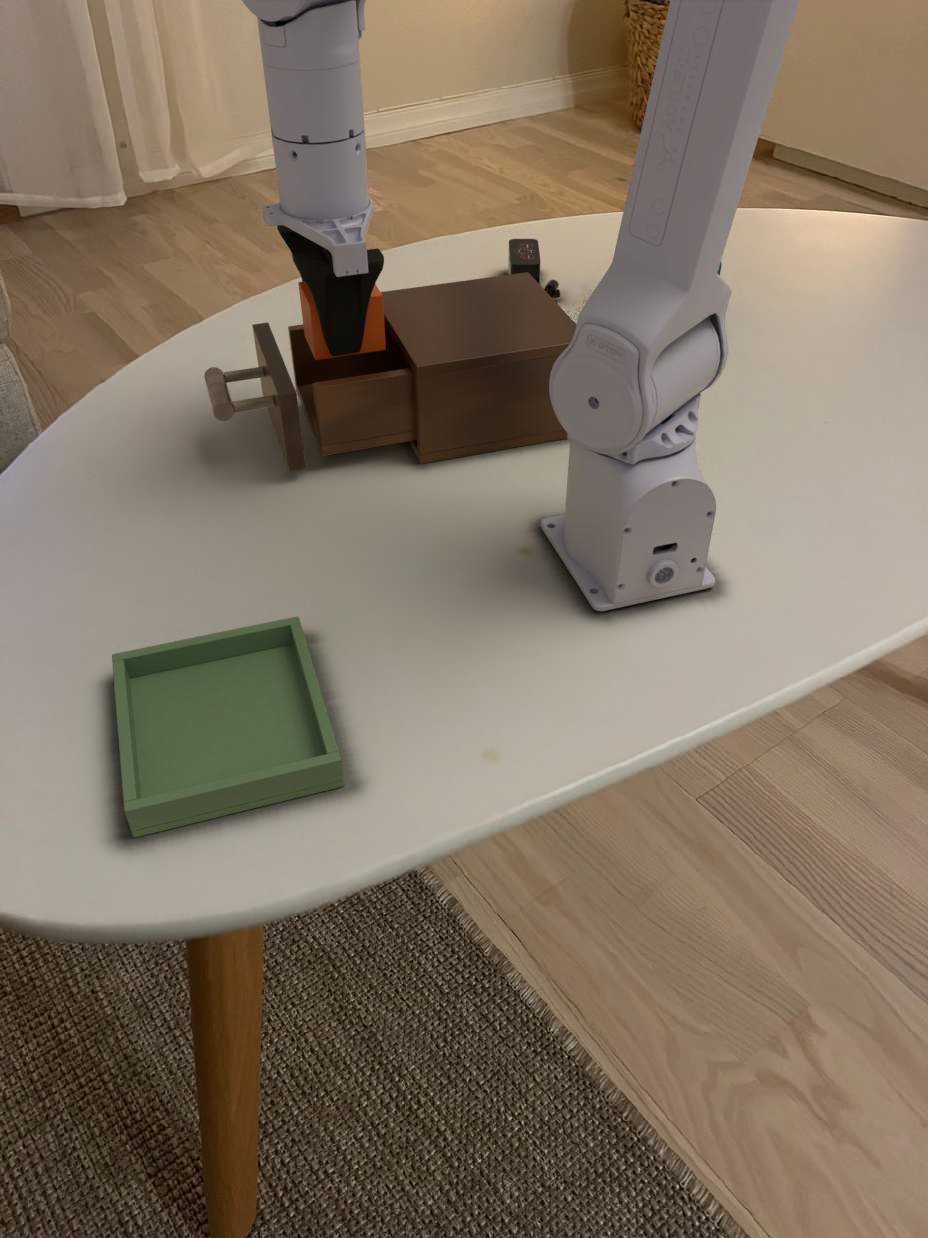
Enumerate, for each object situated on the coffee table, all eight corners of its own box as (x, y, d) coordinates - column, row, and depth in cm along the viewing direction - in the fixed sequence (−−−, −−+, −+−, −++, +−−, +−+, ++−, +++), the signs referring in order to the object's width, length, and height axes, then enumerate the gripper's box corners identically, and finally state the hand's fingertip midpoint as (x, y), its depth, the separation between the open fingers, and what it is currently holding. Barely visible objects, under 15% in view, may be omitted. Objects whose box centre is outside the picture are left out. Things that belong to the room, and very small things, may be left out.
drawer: (228, 481, 69) (214, 406, 66) (208, 403, 78) (194, 332, 74) (447, 444, 73) (446, 370, 69) (406, 372, 81) (402, 303, 77)
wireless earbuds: (509, 302, 93) (510, 268, 91) (507, 271, 99) (508, 238, 96) (560, 302, 93) (562, 267, 91) (555, 271, 98) (557, 238, 96)
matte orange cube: (386, 350, 71) (382, 294, 68) (315, 360, 70) (309, 304, 67) (372, 326, 74) (368, 272, 71) (304, 336, 72) (298, 281, 70)
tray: (345, 786, 50) (341, 759, 49) (133, 838, 48) (124, 811, 47) (302, 641, 58) (298, 615, 57) (119, 680, 56) (111, 653, 55)
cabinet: (420, 464, 72) (416, 366, 68) (377, 383, 82) (371, 292, 77) (583, 435, 75) (591, 339, 70) (524, 361, 84) (528, 271, 79)
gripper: (236, 106, 67) (264, 304, 76) (273, 173, 56) (300, 394, 65) (341, 96, 68) (357, 291, 77) (396, 160, 58) (406, 377, 67)
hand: (337, 337), depth 71 cm, fingers closed on matte orange cube, 4 cm apart
